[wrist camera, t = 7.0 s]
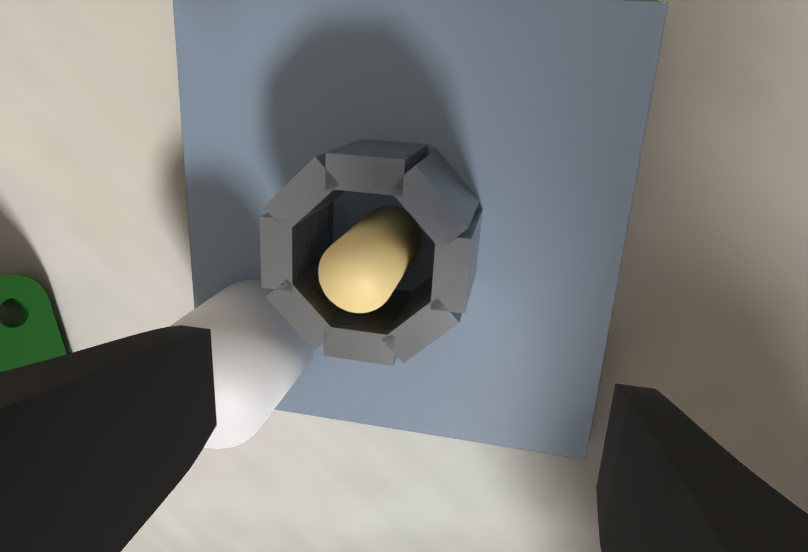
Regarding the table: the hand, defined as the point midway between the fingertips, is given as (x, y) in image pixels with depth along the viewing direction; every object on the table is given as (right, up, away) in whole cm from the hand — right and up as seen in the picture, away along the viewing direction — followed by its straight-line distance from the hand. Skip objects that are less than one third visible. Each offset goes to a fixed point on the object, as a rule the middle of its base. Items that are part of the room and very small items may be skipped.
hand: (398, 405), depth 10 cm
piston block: (0, +4, +9) cm, 10 cm away
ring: (0, +4, +8) cm, 9 cm away
